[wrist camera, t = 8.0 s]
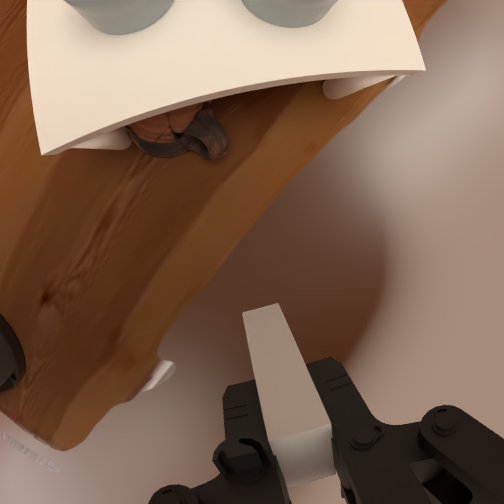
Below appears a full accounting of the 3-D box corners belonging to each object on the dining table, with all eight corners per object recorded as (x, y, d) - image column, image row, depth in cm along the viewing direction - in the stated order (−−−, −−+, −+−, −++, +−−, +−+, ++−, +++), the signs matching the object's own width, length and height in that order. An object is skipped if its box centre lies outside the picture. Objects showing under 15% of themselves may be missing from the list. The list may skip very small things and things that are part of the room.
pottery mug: (108, 133, 28) (93, 79, 20) (172, 83, 31) (175, 28, 23) (193, 203, 28) (198, 157, 20) (255, 141, 31) (277, 88, 23)
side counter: (111, 154, 28) (41, 155, 15) (89, 38, 24) (28, -13, 10) (348, 98, 29) (425, 70, 16) (313, -11, 24) (361, -77, 11)
